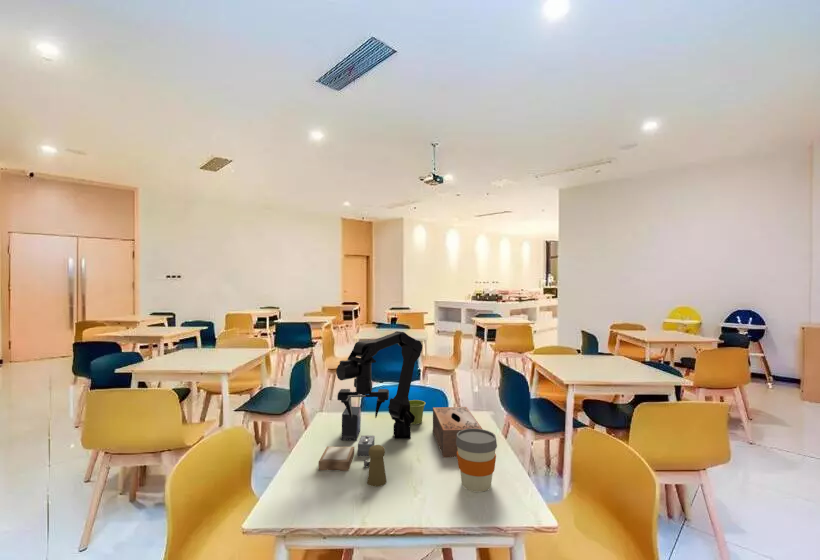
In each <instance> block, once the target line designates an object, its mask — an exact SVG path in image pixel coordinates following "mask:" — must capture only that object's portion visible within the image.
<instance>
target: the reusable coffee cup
mask: <svg viewBox="0 0 820 560" xmlns="http://www.w3.org/2000/svg"><path fill="white" fill-rule="evenodd" d="M456 445H457V448H458V451H457V457H456V458H457V467H458V470H459V472H460V478H461V479H460V480H461V485H462V487H463V488H464V489H465V490H468V491H470V492H473V493H481V492H487V491H488V490H490V489H491V487H492V481H493V473H494V472H495V467H496V459H497V454H496V451H497V450H496V449H497V448H498V444H497V436H496V434H494V432H492V431H489V430H486V429H484V428H482V429H474V428H473V429H464V430H461V431H459V432H458V433H457V438H456Z"/></svg>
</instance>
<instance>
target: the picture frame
mask: <svg viewBox="0 0 820 560" xmlns="http://www.w3.org/2000/svg"><path fill="white" fill-rule="evenodd" d="M354 456H355V446H336V445H335V446H328V445H327V446H326V447H325V449H324V451H323V453H322V455H321V456H320V458H319V460H318V471H319V470H340V471H339V472H344V471H345V472H347V471H348V472H349V471H350V468H351V467H352V464H353V460H354V458H355V457H354Z"/></svg>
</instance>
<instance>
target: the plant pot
mask: <svg viewBox="0 0 820 560" xmlns="http://www.w3.org/2000/svg"><path fill="white" fill-rule="evenodd" d="M409 402H410V412H411V413H412V414H413V415H414V416H415V419H414V422H412V423H411V424H410V425H418V424H422V423H423V416H424V410H425V409H424V408H425V405H426V402H425V401H423V400H421V399H420V400H419V399H413V400H410V399H409Z"/></svg>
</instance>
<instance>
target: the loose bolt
mask: <svg viewBox="0 0 820 560" xmlns="http://www.w3.org/2000/svg"><path fill="white" fill-rule="evenodd" d="M369 464H370V461H368V460H367V459H364V460H363V467H364V468H367V467H368V468H369Z"/></svg>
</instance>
